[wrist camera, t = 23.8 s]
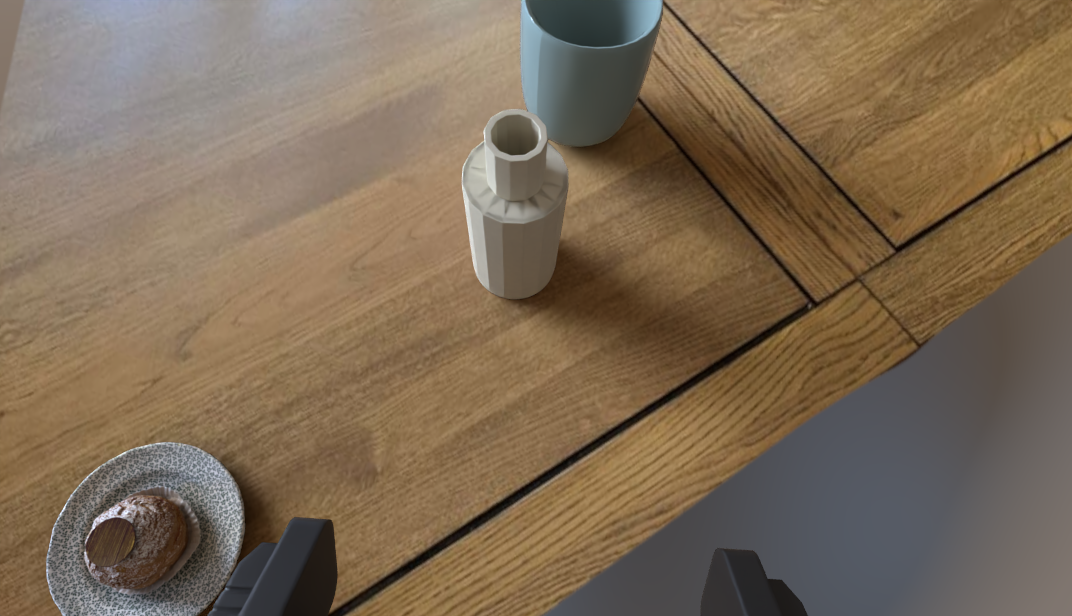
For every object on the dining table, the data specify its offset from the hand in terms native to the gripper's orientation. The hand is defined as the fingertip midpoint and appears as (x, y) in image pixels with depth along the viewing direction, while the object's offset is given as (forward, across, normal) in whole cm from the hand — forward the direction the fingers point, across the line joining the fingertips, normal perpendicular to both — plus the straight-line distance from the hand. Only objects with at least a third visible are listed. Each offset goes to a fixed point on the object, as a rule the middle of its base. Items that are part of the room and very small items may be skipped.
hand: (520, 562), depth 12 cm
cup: (+45, -3, -4) cm, 45 cm away
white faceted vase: (+35, +2, +6) cm, 35 cm away
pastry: (+19, +23, +21) cm, 37 cm away
